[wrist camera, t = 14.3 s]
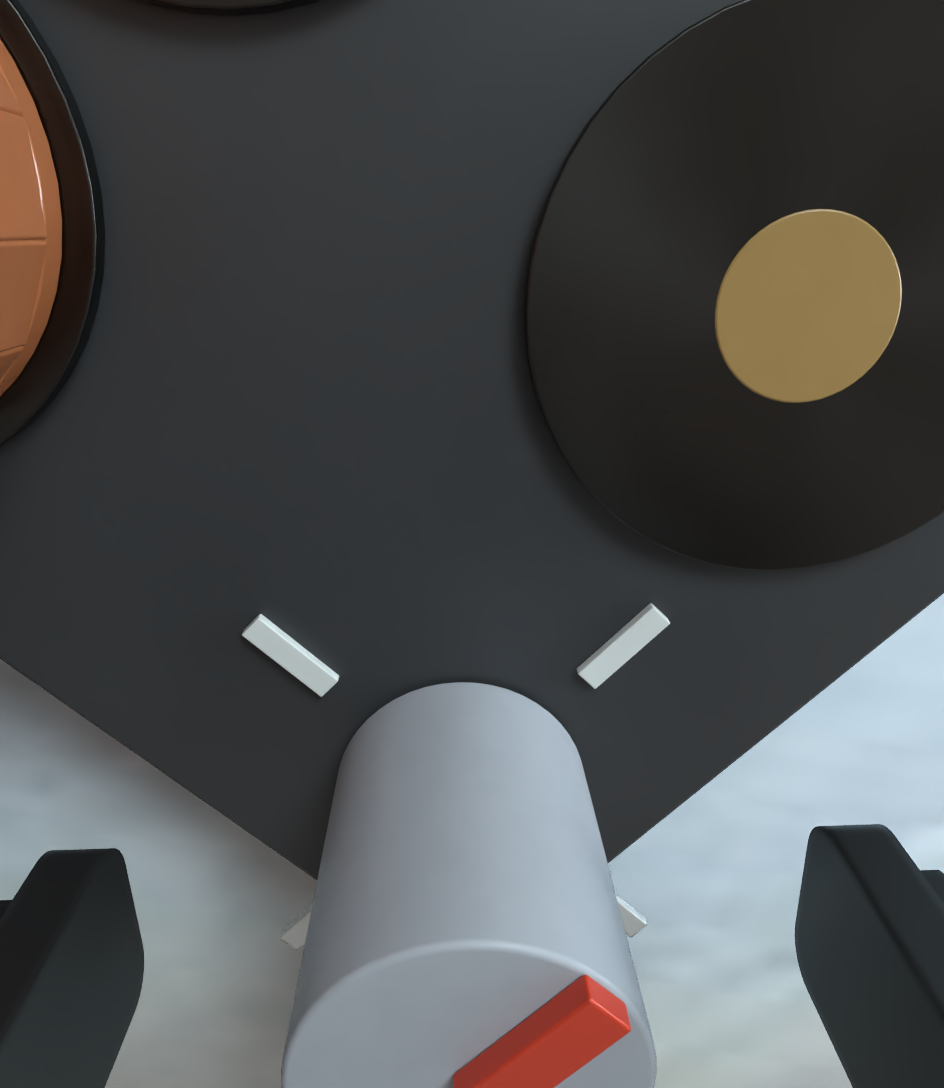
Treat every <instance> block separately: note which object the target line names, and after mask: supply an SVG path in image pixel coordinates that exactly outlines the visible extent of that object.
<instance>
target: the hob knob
mask: <svg viewBox="0 0 944 1088" xmlns="http://www.w3.org/2000/svg"><path fill="white" fill-rule="evenodd" d="M655 1079H656V1053H655V1048H654V1042H653V1038H652V1034H651V1030H650V1026H649V1022H648V1018H647V1014H646V1010H645V1007H644V1003H643V999H642V995H641V991H640V987H639V983H638V979H637V976H636V972H635V968H634V964H633V960H632V956H631V952H630V948H629V944H628V941H627V937H626V933H625V929H624V925H623V921H622V917H621V913H620V909H619V906H618V902H617V898H616V894H615V890H614V886H613V882H612V878H611V874H610V871H609V867H608V863H607V859H606V855H605V851H604V847H603V843H602V839H601V836H600V832H599V828H598V824H597V820H596V816H595V812H594V808H593V804H592V801H591V797H590V793H589V789H588V785H587V781H586V777H585V773H584V770H583V766H582V762H581V759H580V756H579V753H578V750H577V748H576V746H575V744H574V742H573V740H572V739H571V737H570V735H569V734H568V732H567V731H566V730H565V728H564V727H563V726H562V725H561V723H560V722H559V721H558V720H557V719H556V718H555V717H554V716H553V715H552V714H550V713H549V712H548V711H547V710H545V709H544V708H543V707H541V706H540V705H539V704H537V703H536V702H534V701H532V700H530V699H528V698H527V697H525V696H523V695H521V694H518V693H516V692H513V691H511V690H508V689H505V688H501V687H497V686H494V685H489V684H482V683H472V682H454V683H443V684H437V685H432V686H427V687H424V688H421V689H418V690H415V691H412V692H409V693H407V694H405V695H403V696H400V697H398V698H396V699H394V700H393V701H391V702H390V703H388V704H386V705H385V706H383V707H382V708H380V709H379V710H378V711H377V712H376V713H374V714H373V715H372V716H371V717H369V718H368V719H367V720H366V722H365V723H364V724H363V725H362V726H361V727H360V728H359V729H358V730H357V732H356V733H355V735H354V736H353V738H352V739H351V741H350V742H349V744H348V746H347V748H346V750H345V752H344V754H343V757H342V760H341V763H340V767H339V771H338V776H337V781H336V786H335V792H334V797H333V802H332V807H331V812H330V817H329V822H328V828H327V833H326V838H325V843H324V848H323V853H322V858H321V864H320V869H319V874H318V879H317V884H316V889H315V895H314V900H313V905H312V910H311V915H310V920H309V925H308V931H307V936H306V941H305V946H304V951H303V956H302V961H301V967H300V972H299V977H298V982H297V987H296V992H295V997H294V1003H293V1008H292V1013H291V1018H290V1023H289V1028H288V1034H287V1039H286V1044H285V1049H284V1054H283V1061H282V1068H281V1086H282V1088H654V1085H655Z"/></svg>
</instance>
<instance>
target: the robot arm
mask: <svg viewBox="0 0 944 1088" xmlns="http://www.w3.org/2000/svg"><path fill="white" fill-rule="evenodd" d="M795 945H796V953H797V959H798V963H799V967H800V971H801V975H802V977H803V980H804V983H805V985H806V988H807V990H808V992H809V994H810V997H811V999H812V1001H813V1003H814V1005H815V1007H816V1009H817V1012H818V1014H819V1016H820V1018H821V1020H822V1022H823V1024H824V1027H825V1029H826V1031H827V1033H828V1035H829V1037H830V1040H831V1042H832V1044H833V1046H834V1048H835V1050H836V1052H837V1055H838V1057H839V1059H840V1061H841V1063H842V1065H843V1067H844V1070H845V1072H846V1074H847V1076H848V1078H849V1080H850V1082H851V1085H852V1087H853V1088H944V873H942V872H941V871H940V870H922V871H920V870H919V869H918V867H917V866H916V864H915V863H914V862H913V860H912V859H911V858H910V856H909V855H908V853H907V852H906V851H905V849H904V848H903V846H902V845H901V844H900V842H899V841H898V840H897V838H896V837H895V835H894V834H893V833H892V832H891V831H890V830H889V829H888V828H887V827H885V826H883V825H880V824H872V825H843V826H818V827H815V828H814V829H813V830H812V831H811V833H810V836H809V839H808V845H807V851H806V858H805V864H804V871H803V877H802V884H801V890H800V897H799V904H798V910H797V917H796V923H795ZM143 973H144V950H143V944H142V939H141V934H140V930H139V925H138V920H137V916H136V911H135V906H134V902H133V897H132V892H131V888H130V883H129V878H128V874H127V869H126V864H125V861H124V858H123V855H122V854H121V852H120V851H119V850H118V849H115V848H109V849H80V850H52V851H48V852H46V853H45V854H43V855H42V856H41V857H40V859H39V860H38V861H37V863H36V864H35V866H34V867H33V869H32V870H31V872H30V874H29V875H28V877H27V878H26V880H25V881H24V883H23V884H22V886H21V888H20V889H19V891H18V892H17V894H16V895H15V897H14V898H13V900H1V901H0V1088H105V1085H106V1083H107V1080H108V1078H109V1075H110V1073H111V1070H112V1068H113V1065H114V1063H115V1060H116V1058H117V1055H118V1052H119V1050H120V1047H121V1045H122V1042H123V1040H124V1037H125V1035H126V1032H127V1030H128V1027H129V1025H130V1022H131V1020H132V1017H133V1015H134V1012H135V1010H136V1007H137V1004H138V1000H139V997H140V992H141V988H142V982H143Z"/></svg>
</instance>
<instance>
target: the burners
mask: <svg viewBox="0 0 944 1088" xmlns="http://www.w3.org/2000/svg"><path fill="white" fill-rule="evenodd" d="M139 1H141V2H144V3H147V4H150V5H155V6H159V7H164V8H169V9H173V10H178V11H183V12H187V13H194V14H209V15H225V16H240V15H251V14H263V13H274V12H278V11H283V10H287V9H291V8H295V7H299V6H303V5H307V4H311V3H315V2H317V1H320V0H139ZM0 39H1V41H2V43H3V44H4V46H5V47H6V49H7V51H8V52H9V54H10V55H11V57H12V59H13V60H14V62H15V64H16V66H17V68H18V70H19V72H20V74H21V76H22V78H23V80H24V82H25V84H26V86H27V89H28V91H29V93H30V95H31V97H32V99H33V101H34V103H35V106H36V109H37V112H38V115H39V117H40V120H41V123H42V126H43V128H44V131H45V134H46V137H47V140H48V143H49V147H50V151H51V156H52V160H53V164H54V168H55V172H56V177H57V181H58V189H59V198H60V207H61V215H62V258H61V265H60V271H59V278H58V285H57V292H56V295H55V299H54V302H53V306H52V309H51V312H50V316H49V319H48V323H47V325H46V327H45V330H44V332H43V334H42V336H41V338H40V340H39V343H38V345H37V347H36V349H35V351H34V353H33V355H32V356H31V358H30V359H29V361H28V362H27V364H26V365H25V367H24V368H23V370H22V371H21V373H20V374H19V376H18V377H17V379H16V380H15V381H14V382H13V383H12V384H11V385H10V387H9V388H8V389H7V390H6V391H5V392H4V393H3V394H2V395H1V396H0V447H1V446H3V445H4V444H6V443H7V442H9V441H10V440H11V439H12V438H14V437H15V436H16V435H18V434H19V433H20V432H21V431H23V430H24V429H25V428H27V427H28V426H29V425H30V424H32V423H33V421H34V420H35V419H36V418H37V417H38V416H39V415H40V414H41V413H42V412H43V411H44V410H45V409H46V408H47V407H48V406H49V404H50V403H51V402H52V401H53V400H54V399H55V397H56V396H57V394H58V393H59V391H60V390H61V389H62V387H63V386H64V384H65V383H66V381H67V380H68V378H69V377H70V375H71V374H72V372H73V370H74V368H75V366H76V364H77V362H78V360H79V358H80V356H81V354H82V352H83V350H84V347H85V345H86V343H87V341H88V338H89V335H90V331H91V328H92V325H93V322H94V319H95V315H96V312H97V309H98V304H99V298H100V292H101V286H102V280H103V274H104V254H105V224H104V214H103V203H102V193H101V186H100V182H99V177H98V173H97V168H96V164H95V159H94V155H93V150H92V146H91V143H90V140H89V137H88V134H87V131H86V128H85V125H84V123H83V120H82V117H81V114H80V111H79V108H78V105H77V102H76V100H75V98H74V96H73V94H72V92H71V90H70V88H69V85H68V83H67V81H66V79H65V77H64V75H63V73H62V71H61V68H60V66H59V64H58V62H57V60H56V58H55V57H54V55H53V53H52V52H51V50H50V48H49V47H48V45H47V44H46V42H45V40H44V39H43V37H42V35H41V34H40V32H39V30H38V29H37V27H36V25H35V24H34V22H33V21H32V19H31V17H30V16H29V15H28V13H27V12H26V11H25V10H24V8H23V7H22V6H21V4H20V3H19V2H18V0H0ZM523 315H524V333H525V350H526V355H527V361H528V366H529V371H530V376H531V382H532V386H533V389H534V392H535V395H536V398H537V401H538V404H539V407H540V410H541V413H542V416H543V419H544V421H545V423H546V425H547V427H548V429H549V431H550V433H551V435H552V437H553V439H554V441H555V443H556V446H557V448H558V450H559V451H560V453H561V455H562V456H563V458H564V459H565V461H566V462H567V464H568V465H569V467H570V468H571V470H572V471H573V473H574V474H575V475H576V477H577V478H578V480H579V481H580V482H581V483H582V484H583V486H584V487H585V488H586V489H587V490H588V491H589V492H590V493H591V494H592V496H593V497H594V498H595V499H596V500H597V501H598V502H599V503H600V504H601V505H602V506H603V507H604V508H605V509H607V510H608V511H609V512H610V513H611V514H612V515H614V516H615V517H616V518H617V519H618V520H620V521H621V522H622V523H623V524H624V525H626V526H627V527H629V528H631V529H632V530H634V531H635V532H637V533H638V534H640V535H642V536H643V537H645V538H646V539H648V540H650V541H651V542H653V543H655V544H658V545H660V546H662V547H664V548H667V549H669V550H671V551H673V552H675V553H678V554H680V555H683V556H686V557H689V558H693V559H696V560H699V561H703V562H706V563H709V564H714V565H721V566H727V567H733V568H739V569H755V570H784V569H795V568H807V567H813V566H817V565H822V564H827V563H832V562H837V561H842V560H845V559H848V558H851V557H854V556H857V555H860V554H863V553H866V552H869V551H872V550H875V549H877V548H879V547H881V546H884V545H886V544H888V543H890V542H892V541H894V540H897V539H899V538H901V537H903V536H905V535H907V534H909V533H911V532H912V531H914V530H916V529H917V528H919V527H921V526H922V525H924V524H926V523H927V522H929V521H931V520H932V519H934V518H936V517H937V516H939V515H940V514H941V513H943V512H944V0H741V1H739V2H736V3H734V4H731V5H728V6H726V7H723V8H722V9H720V10H718V11H716V12H714V13H713V14H711V15H709V16H707V17H706V18H704V19H702V20H700V21H698V22H697V23H695V24H693V25H691V26H690V27H688V28H686V29H684V30H683V31H682V32H680V33H679V34H678V35H676V36H675V37H674V38H672V39H671V40H670V41H668V42H667V43H666V44H664V45H663V46H662V47H660V48H659V49H658V50H656V51H655V52H654V53H652V54H651V55H650V56H648V57H647V58H646V59H645V60H644V61H643V62H642V63H641V64H640V65H639V66H637V67H636V68H635V69H634V70H633V71H632V72H631V73H630V74H629V75H628V76H627V77H626V78H625V79H624V80H623V81H622V82H621V83H620V84H619V85H618V86H617V87H616V88H615V89H614V90H613V91H612V92H611V93H610V95H609V96H608V97H607V98H606V100H605V101H604V102H603V103H602V105H601V106H600V107H599V108H598V109H597V111H596V112H595V113H594V114H593V116H592V117H591V118H590V119H589V121H588V122H587V123H586V125H585V126H584V128H583V129H582V131H581V133H580V134H579V136H578V137H577V139H576V141H575V142H574V144H573V146H572V147H571V149H570V150H569V152H568V154H567V155H566V157H565V158H564V160H563V162H562V164H561V167H560V169H559V171H558V173H557V175H556V177H555V179H554V182H553V184H552V186H551V188H550V190H549V192H548V194H547V197H546V199H545V202H544V206H543V209H542V212H541V215H540V218H539V221H538V224H537V227H536V230H535V233H534V236H533V241H532V247H531V252H530V257H529V262H528V267H527V272H526V282H525V296H524V311H523Z"/></svg>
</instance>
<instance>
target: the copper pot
mask: <svg viewBox="0 0 944 1088" xmlns="http://www.w3.org/2000/svg"><path fill="white" fill-rule="evenodd" d="M61 258H62V215H61V207H60V198H59V189H58V181H57V177H56V172H55V168H54V164H53V160H52V156H51V151H50V147H49V143H48V140H47V137H46V134H45V131H44V128H43V126H42V123H41V120H40V117H39V115H38V112H37V109H36V106H35V103H34V101H33V99H32V97H31V95H30V93H29V91H28V89H27V86H26V84H25V82H24V80H23V78H22V76H21V74H20V72H19V70H18V68H17V66H16V64H15V62H14V60H13V59H12V57H11V55H10V54H9V52H8V51H7V49H6V47H5V46H4V44H3V43H2V41H1V39H0V396H1V395H2V394H3V393H4V392H5V391H6V390H7V389H8V388H9V387H10V385H11V384H12V383H13V382H14V381H15V380H16V379H17V377H18V376H19V374H20V373H21V371H22V370H23V368H24V367H25V365H26V364H27V362H28V361H29V359H30V358H31V356H32V355H33V353H34V351H35V349H36V347H37V345H38V343H39V340H40V338H41V336H42V334H43V332H44V330H45V327H46V325H47V323H48V319H49V316H50V312H51V309H52V306H53V302H54V299H55V295H56V292H57V285H58V278H59V271H60V265H61Z"/></svg>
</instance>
